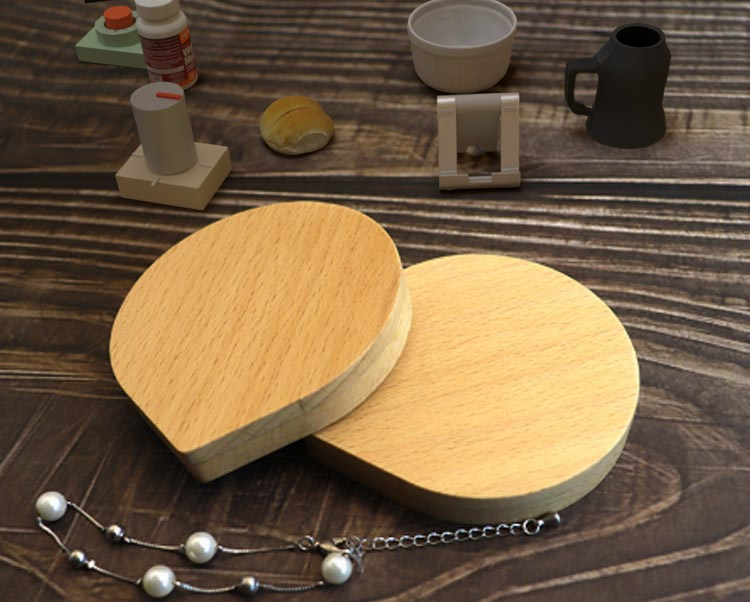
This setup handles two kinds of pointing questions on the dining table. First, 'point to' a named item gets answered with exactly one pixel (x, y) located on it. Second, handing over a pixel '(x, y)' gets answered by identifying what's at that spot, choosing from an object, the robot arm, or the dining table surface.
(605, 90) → the mug
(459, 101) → the tablet stand
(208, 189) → the beige square base
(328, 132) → the bread roll
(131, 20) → the button
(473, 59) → the ramekin
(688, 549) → the dining table surface
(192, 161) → the dial
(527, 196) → the dining table surface
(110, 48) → the button box
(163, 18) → the pill bottle
